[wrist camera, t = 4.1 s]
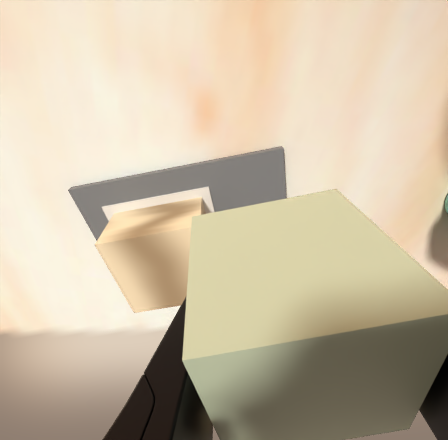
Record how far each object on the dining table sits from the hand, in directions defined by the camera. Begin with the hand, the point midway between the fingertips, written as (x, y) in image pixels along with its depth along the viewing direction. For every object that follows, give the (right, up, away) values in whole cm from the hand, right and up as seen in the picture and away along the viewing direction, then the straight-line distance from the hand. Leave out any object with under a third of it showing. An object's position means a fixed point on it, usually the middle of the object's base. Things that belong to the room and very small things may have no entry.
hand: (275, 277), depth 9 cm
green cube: (0, +1, +1) cm, 1 cm away
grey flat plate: (-4, +1, +13) cm, 14 cm away
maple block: (-6, 0, +12) cm, 14 cm away
